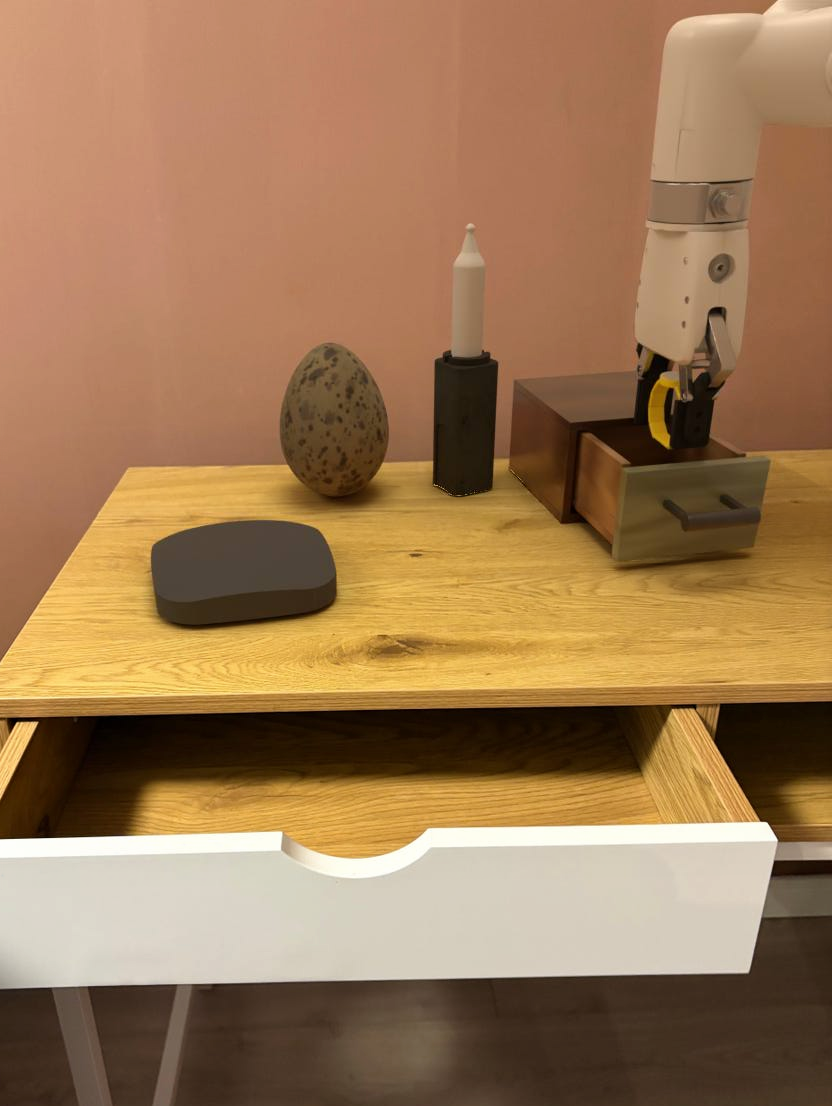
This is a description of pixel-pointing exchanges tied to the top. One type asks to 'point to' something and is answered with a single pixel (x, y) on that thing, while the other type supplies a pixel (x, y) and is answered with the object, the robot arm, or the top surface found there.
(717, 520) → the drawer
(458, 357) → the candle
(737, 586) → the top surface
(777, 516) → the top surface
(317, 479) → the decorative egg
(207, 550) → the media streaming box
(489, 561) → the top surface
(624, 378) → the cabinet
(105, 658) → the top surface
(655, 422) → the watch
